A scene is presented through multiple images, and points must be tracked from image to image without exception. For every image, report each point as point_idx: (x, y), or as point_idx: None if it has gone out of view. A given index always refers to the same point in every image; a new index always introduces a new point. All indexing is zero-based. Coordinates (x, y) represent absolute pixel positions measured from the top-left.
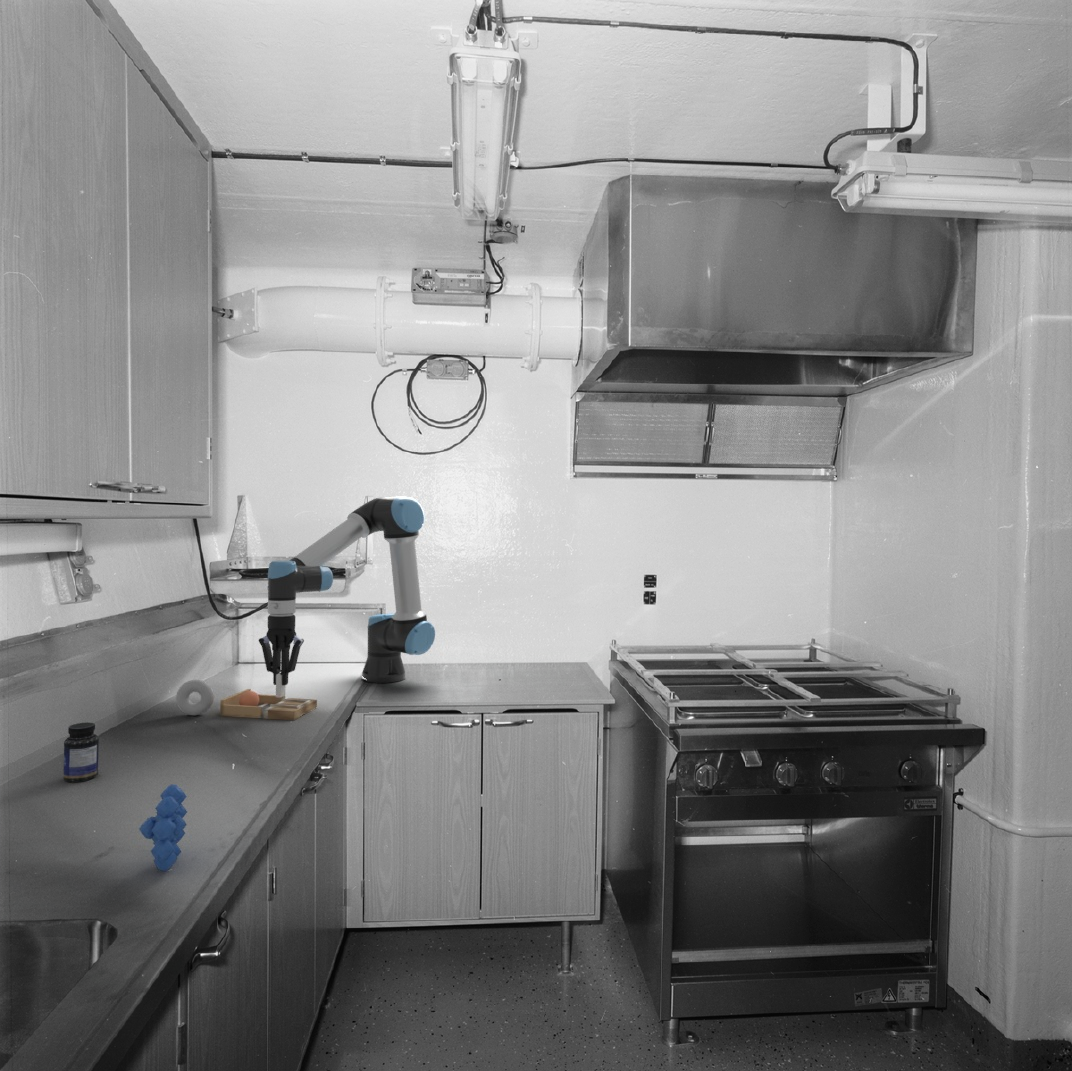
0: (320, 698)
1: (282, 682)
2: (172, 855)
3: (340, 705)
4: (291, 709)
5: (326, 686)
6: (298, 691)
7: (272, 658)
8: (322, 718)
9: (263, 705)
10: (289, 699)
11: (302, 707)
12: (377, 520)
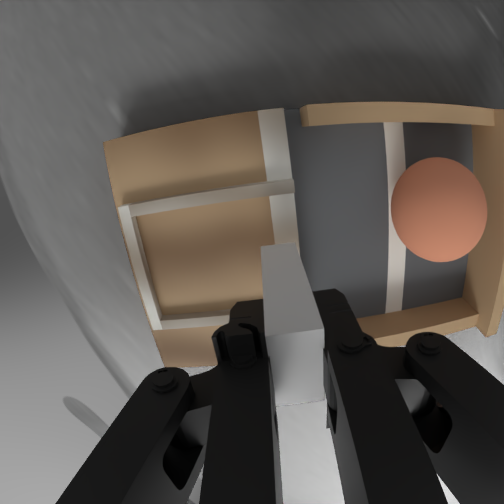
0: None
1: (260, 310)
2: None
3: (124, 386)
4: (141, 171)
5: (310, 496)
6: None
7: (451, 484)
8: (48, 216)
9: (393, 283)
10: None
11: (122, 231)
12: None
